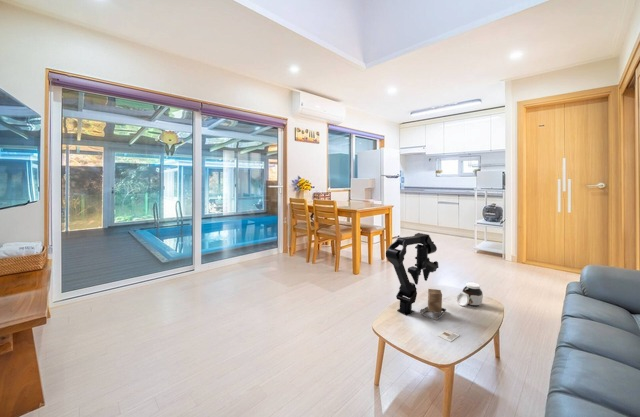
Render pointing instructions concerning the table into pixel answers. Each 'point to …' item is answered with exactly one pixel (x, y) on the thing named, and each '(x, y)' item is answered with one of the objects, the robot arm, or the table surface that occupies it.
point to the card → (448, 335)
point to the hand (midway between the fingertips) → (421, 282)
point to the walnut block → (434, 300)
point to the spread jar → (470, 295)
